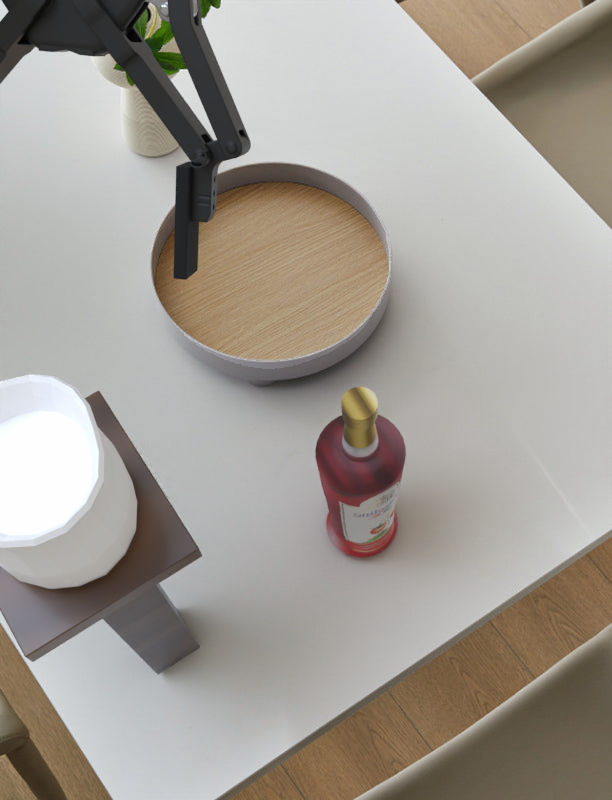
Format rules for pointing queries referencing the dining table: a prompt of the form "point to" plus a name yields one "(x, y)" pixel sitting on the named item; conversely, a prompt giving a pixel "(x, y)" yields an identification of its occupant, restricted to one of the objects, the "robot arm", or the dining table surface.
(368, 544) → the liquor
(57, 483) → the cup
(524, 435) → the dining table surface
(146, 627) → the wooden pedestal stand
